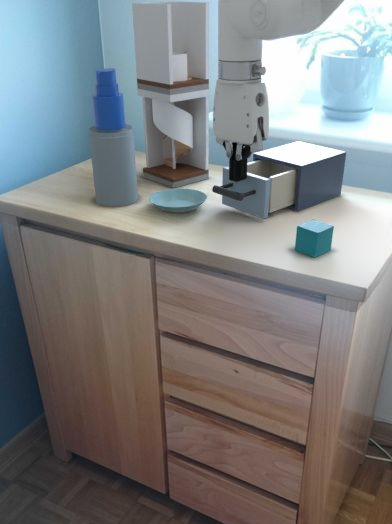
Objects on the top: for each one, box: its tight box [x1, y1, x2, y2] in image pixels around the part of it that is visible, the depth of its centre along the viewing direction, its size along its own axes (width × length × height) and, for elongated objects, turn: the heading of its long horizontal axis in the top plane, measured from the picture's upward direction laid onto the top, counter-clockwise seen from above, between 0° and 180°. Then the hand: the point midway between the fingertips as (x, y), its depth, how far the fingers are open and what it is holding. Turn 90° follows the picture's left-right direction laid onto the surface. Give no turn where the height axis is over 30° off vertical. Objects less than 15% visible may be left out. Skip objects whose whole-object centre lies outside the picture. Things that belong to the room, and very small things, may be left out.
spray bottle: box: [88, 67, 139, 208], centre depth 112 cm, size 9×9×25 cm
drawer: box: [211, 159, 298, 219], centre depth 110 cm, size 18×11×7 cm, turn 132°
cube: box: [294, 219, 335, 258], centre depth 95 cm, size 4×4×4 cm
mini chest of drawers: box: [252, 140, 347, 213], centre depth 117 cm, size 15×13×9 cm
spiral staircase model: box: [131, 0, 210, 189], centre depth 122 cm, size 11×11×35 cm
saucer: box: [148, 188, 208, 214], centre depth 114 cm, size 12×12×2 cm
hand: (237, 179), depth 105 cm, fingers closed
